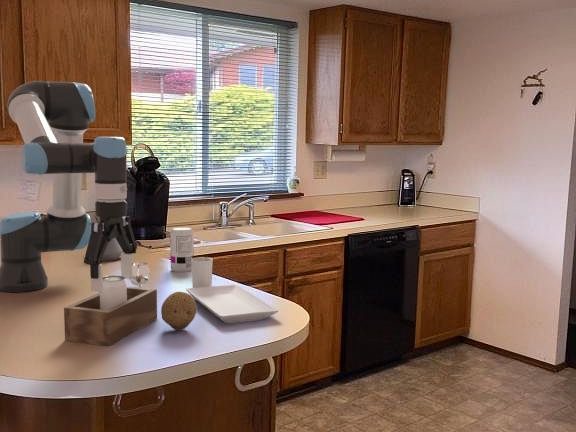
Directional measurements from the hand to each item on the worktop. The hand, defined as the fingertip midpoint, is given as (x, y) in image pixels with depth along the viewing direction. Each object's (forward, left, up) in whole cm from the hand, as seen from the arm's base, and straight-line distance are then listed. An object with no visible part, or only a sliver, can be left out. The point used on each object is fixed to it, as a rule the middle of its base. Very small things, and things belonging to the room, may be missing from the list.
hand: (112, 284), depth 157 cm
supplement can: (-14, +68, -12) cm, 70 cm away
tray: (+21, +27, -12) cm, 36 cm away
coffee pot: (-53, +79, -12) cm, 96 cm away
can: (0, 0, -11) cm, 11 cm away
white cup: (+5, +43, -12) cm, 45 cm away
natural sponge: (+16, +4, -12) cm, 20 cm away
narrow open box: (0, 0, -11) cm, 11 cm away
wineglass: (-5, +22, -12) cm, 25 cm away
